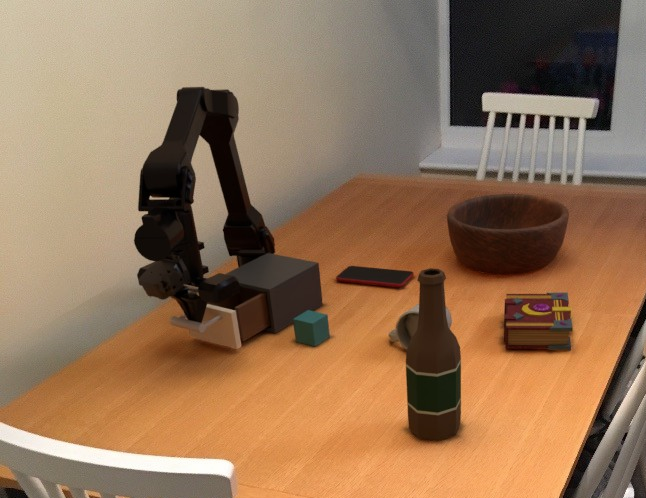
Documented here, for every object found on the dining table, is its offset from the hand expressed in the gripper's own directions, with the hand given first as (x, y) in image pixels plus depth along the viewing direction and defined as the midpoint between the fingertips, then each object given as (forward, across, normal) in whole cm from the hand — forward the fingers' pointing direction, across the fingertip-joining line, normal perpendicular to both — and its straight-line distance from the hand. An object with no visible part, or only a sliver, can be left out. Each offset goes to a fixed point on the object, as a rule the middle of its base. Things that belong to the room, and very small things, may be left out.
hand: (196, 327), depth 145 cm
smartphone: (+5, +8, +43) cm, 44 cm away
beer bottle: (+5, +49, -2) cm, 49 cm away
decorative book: (+5, +48, +35) cm, 60 cm away
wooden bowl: (+5, +27, +65) cm, 71 cm away
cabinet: (+5, 0, +20) cm, 21 cm away
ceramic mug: (+5, +32, +21) cm, 39 cm away
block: (+5, +14, +14) cm, 21 cm away
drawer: (+4, 0, +7) cm, 8 cm away
